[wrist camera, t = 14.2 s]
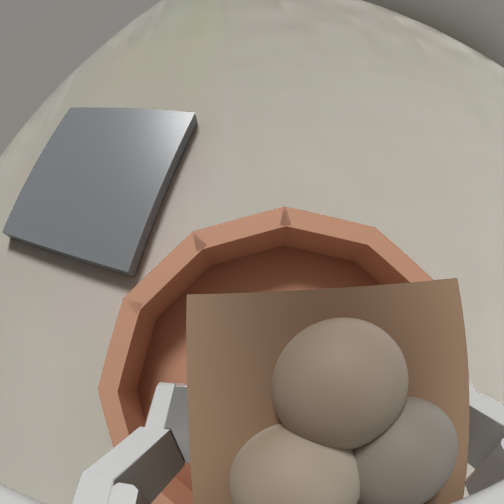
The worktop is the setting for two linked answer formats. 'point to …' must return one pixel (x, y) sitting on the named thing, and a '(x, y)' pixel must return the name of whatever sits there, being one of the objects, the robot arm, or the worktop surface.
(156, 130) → the parts tray
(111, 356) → the bowl
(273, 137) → the worktop surface
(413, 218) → the worktop surface
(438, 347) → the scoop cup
